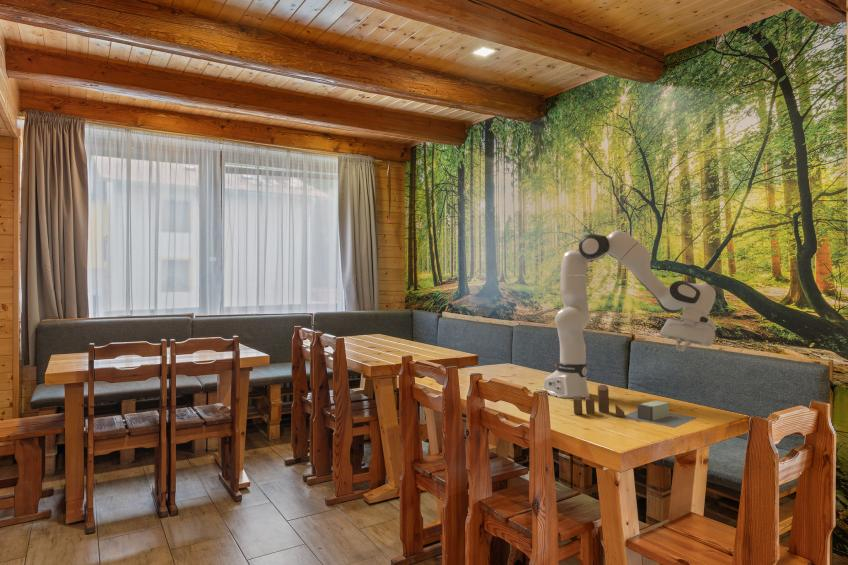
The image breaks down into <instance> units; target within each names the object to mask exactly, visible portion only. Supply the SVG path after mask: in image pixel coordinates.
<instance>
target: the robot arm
mask: <svg viewBox="0 0 848 565" xmlns="http://www.w3.org/2000/svg"><path fill="white" fill-rule="evenodd" d="M606 255H611V256H613V257H614V258H615V259H617V261H619V262H620V263H621V264H622V265H624V266H625V267H626V268H627V269H628V270H629V271H630V272H631V273H632V275H633V276H634V277H635V278H636V280H638V282H639V283H640V284H641V285H642V286H644V288H645V289H646V290H647V291H648V292H650V294H651V295H652V296H653V297H654V298H655V300H656V302H657V303H658V305H659V306H660V308H661V309H662V310H663V312H664V311H665V312H666V313H668V314H669V313H670V314H677V313H679V312H681V311H682V310H683V309H684V311H683V313H682V315H681V317H680V318H679V317H674V316H673V317H669V318H667V319H666V321H665V323H664V325H663V326H662V328H661V329H660V335H661V336H662V338H664V339H668V340H669V339H670V340H674V341H675V342H676V346H675V350H676V351H679V352H686V349H687V348H688V347H690V346H691V344H695V345H700V346H704V347H711V346H712V345H713V343H714V341H715V337H716V331H717V326H716V324H715V323H714V321H713V320H712V319H711V318H709V316H708V315H709V313H710V312H711V310H712V309H713V306H714V303H715V300H716V295H717V294H716V289H714V288H713V286H711V285H710V284H708V283H705V282H699V283H692V282H687V281H684V280H676V281H674V282H672V283H671V284H670V286H667V285H666V284H664V283H663V282H662V281H661V280H660V279H659V278H658V277H657V276H656V275H655V274H654V272H653V271H652V267H651V253H650V251H649V250H648V249H647V247H645V246H644V245H643V244H642V243H641V242H639V241H638V240H637V239H636V238H634V237H633V236H632V235H630V234H628V233H627V232H624V231H623V230H620V229H618V230H614V231H612V232H610V233H609V234H608V235H607V236H605V235H600V234H597V233H596V234H595V233H588V234H586V235H584V236H582V238H581V239H580V240H579V243H578V248H577V249H570V250H568V251H566V252H565V253H564V254H563V256H562V260H561V265H560V266H561V268H560V294H561V298H562V304H563V308H561V309H560V310H559V311H558V312H557V313H556V315H555V317H554V324H555V326H556V329H557V336H558V340H559V341H558V342H559V362H557V363H555V364H554V367H556V369H555V371H553V372H552V373H551V374H549V375H548V376H546V377H545V378H544V381H543V387H540V388H538V390H547V391H548V392H549V394H550V395H549V396H552V397H556V396H557V398H560V397H561V398H562V399H564V398H566V399H567V398H568V399H569V398H570V399H571V398H572V399H573V396H581V397H582V398H585V396H590V392H589V389H588V381H587V374H588V364H587V345H586V342H585V338H584V333H583V332H584V331H583V330H584V329H585V328H586V327H588V325H589V323H590V322H591V314H590V310H589V301H588V297H587V294H588V293H587V281H588V280H587V279H588V278H587V274H588V273H587V271H588V270H587V268H588V264H589V263H590V262H594V261H598V260H600V259H602V258H604V257H605V256H606ZM682 342H684V344H683V345H682ZM590 397H591V396H590ZM561 398H560V399H561Z"/></svg>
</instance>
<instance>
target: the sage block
mask: <svg viewBox="0 0 848 565" xmlns="http://www.w3.org/2000/svg"><path fill="white" fill-rule="evenodd" d="M637 410H638V418H639V419H643V420H647V421H652V420H656V419H660V418H664V417H668V416H669V413H670V402H667V401H662V400H657V399H656V400H651V401H647V402H643V403H637Z"/></svg>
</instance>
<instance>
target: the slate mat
mask: <svg viewBox="0 0 848 565" xmlns="http://www.w3.org/2000/svg"><path fill="white" fill-rule="evenodd" d="M619 418H624V419H629V420H633V421H639V422H644V423H650V424H654V425H659V426H664V427H668V428H678V427H680V426H681V425H684V424H686V423H688V422H691V421H693V420H696V419H697V418H698V417H697V416H696V417H695V416H692V415H691V416H690V415H684V414H680V413H679V414H678V413H673V412H669V416H668V417H664V418H660V419H656V420H652V421H647V420H643V419H639V418H638V409H637V410H634V411H632V412H630V413H626V414H625V416H619Z"/></svg>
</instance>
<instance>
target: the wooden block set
mask: <svg viewBox="0 0 848 565" xmlns="http://www.w3.org/2000/svg"><path fill="white" fill-rule="evenodd" d="M609 398H610V396H609V386H607V385H605V384H600V385H598V386H597V405H598V406H597V408H598V412H599V413H601V414H608V413H609V412H610V399H609ZM572 399H573V401H572V402H573V403H572V404H573V413H574V415H583V399H582V397H581V396H573V398H572ZM584 399H585V412H586V414H587V415H595V413H596V411H595V410H596V409H595V406H596V405H595V399H594V398H593V397H592V396H585V397H584ZM614 409H615V416H616V417H619V418H620V416H625V415H626V414H625V410H623V409H621V407H620V406H618V404H616V403H615V408H614Z"/></svg>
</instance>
